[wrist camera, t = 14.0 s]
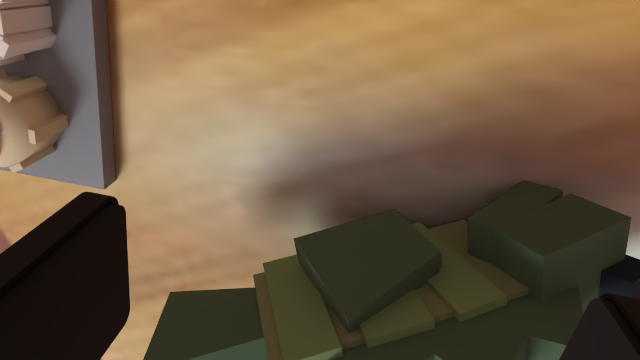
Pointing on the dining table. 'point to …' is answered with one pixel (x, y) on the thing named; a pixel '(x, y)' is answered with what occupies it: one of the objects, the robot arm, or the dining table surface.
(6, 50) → the loose gear
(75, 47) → the gear board
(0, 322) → the robot arm
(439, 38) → the dining table surface
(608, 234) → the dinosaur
